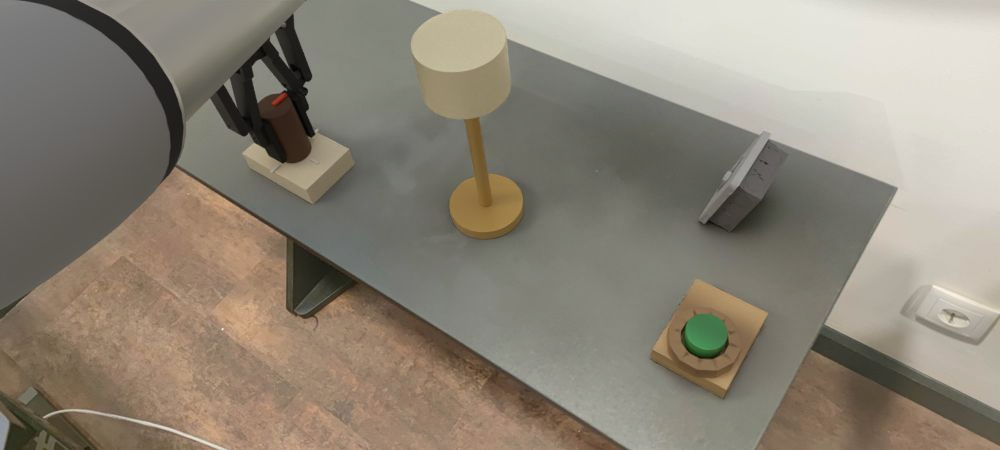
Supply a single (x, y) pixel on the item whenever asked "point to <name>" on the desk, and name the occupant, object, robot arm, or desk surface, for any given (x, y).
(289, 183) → the dimmer panel
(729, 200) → the electrical switch
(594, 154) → the desk surface
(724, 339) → the power button
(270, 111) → the dimmer knob
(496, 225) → the desk lamp
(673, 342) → the power button base
